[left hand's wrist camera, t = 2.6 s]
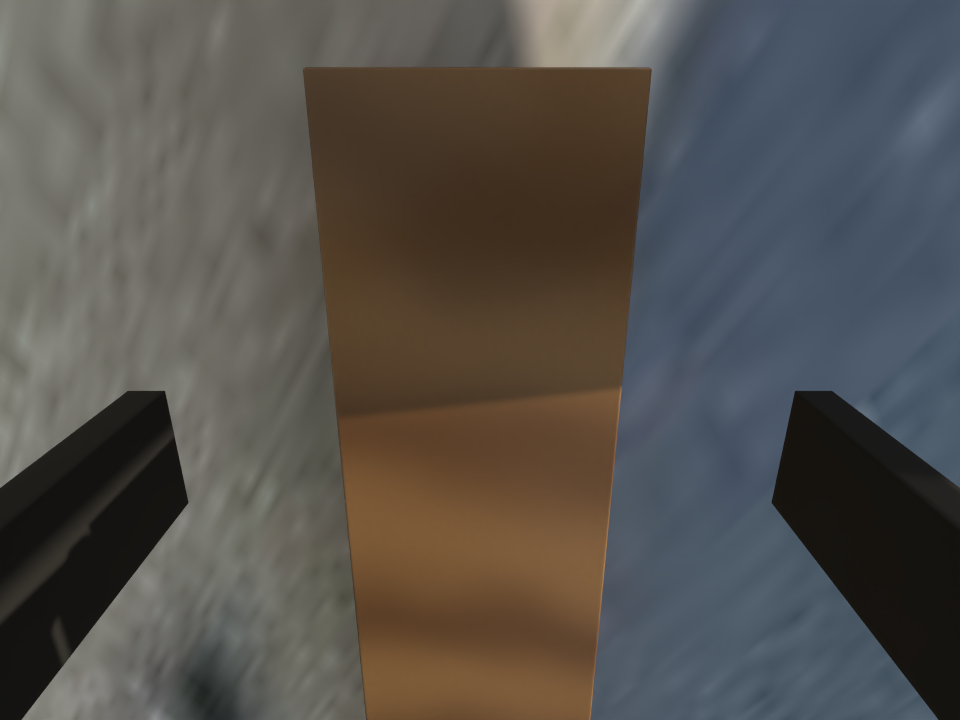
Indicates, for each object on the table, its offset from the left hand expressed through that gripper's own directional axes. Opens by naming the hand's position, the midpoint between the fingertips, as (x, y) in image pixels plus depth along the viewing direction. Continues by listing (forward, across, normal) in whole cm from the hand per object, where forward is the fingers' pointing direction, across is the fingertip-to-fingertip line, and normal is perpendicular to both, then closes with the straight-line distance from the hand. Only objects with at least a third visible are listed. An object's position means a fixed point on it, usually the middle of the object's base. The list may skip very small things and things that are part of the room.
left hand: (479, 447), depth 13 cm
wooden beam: (+13, 0, -28) cm, 30 cm away
